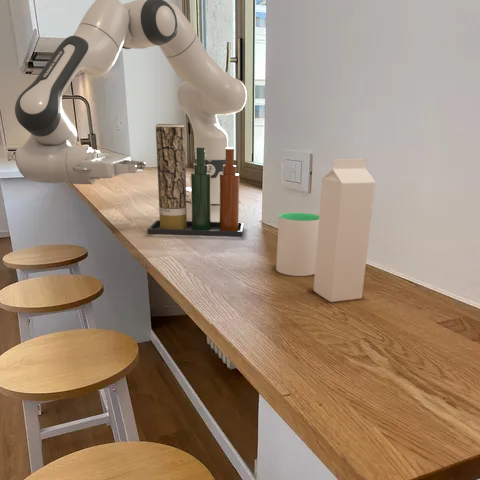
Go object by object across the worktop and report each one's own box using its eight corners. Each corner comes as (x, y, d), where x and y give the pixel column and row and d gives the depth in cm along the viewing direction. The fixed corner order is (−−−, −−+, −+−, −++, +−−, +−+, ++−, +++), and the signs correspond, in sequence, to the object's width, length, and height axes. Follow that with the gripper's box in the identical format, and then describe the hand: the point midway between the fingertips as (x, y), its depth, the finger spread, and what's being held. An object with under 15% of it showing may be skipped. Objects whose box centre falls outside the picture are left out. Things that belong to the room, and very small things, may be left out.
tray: (156, 227, 132) (156, 220, 131) (243, 229, 131) (243, 222, 130) (147, 236, 121) (147, 229, 120) (242, 239, 121) (242, 231, 120)
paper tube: (175, 233, 122) (172, 124, 112) (154, 230, 125) (149, 123, 115) (192, 229, 127) (190, 124, 117) (171, 225, 130) (168, 123, 121)
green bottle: (193, 228, 128) (191, 146, 120) (211, 228, 128) (211, 147, 120) (190, 232, 124) (189, 147, 116) (209, 232, 124) (209, 148, 116)
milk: (312, 291, 85) (322, 157, 77) (343, 288, 87) (355, 156, 79) (331, 303, 80) (343, 160, 72) (362, 298, 82) (378, 159, 74)
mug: (323, 261, 103) (327, 211, 99) (342, 272, 96) (348, 218, 92) (269, 265, 99) (272, 213, 95) (286, 277, 92) (289, 221, 88)
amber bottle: (220, 229, 128) (220, 147, 120) (238, 229, 128) (240, 147, 120) (218, 233, 123) (219, 148, 116) (237, 233, 123) (239, 149, 116)
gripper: (67, 154, 110) (129, 156, 109) (96, 149, 129) (148, 151, 128) (71, 184, 112) (131, 185, 112) (98, 174, 131) (149, 176, 131)
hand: (140, 167), depth 120 cm, fingers open, 8 cm apart
